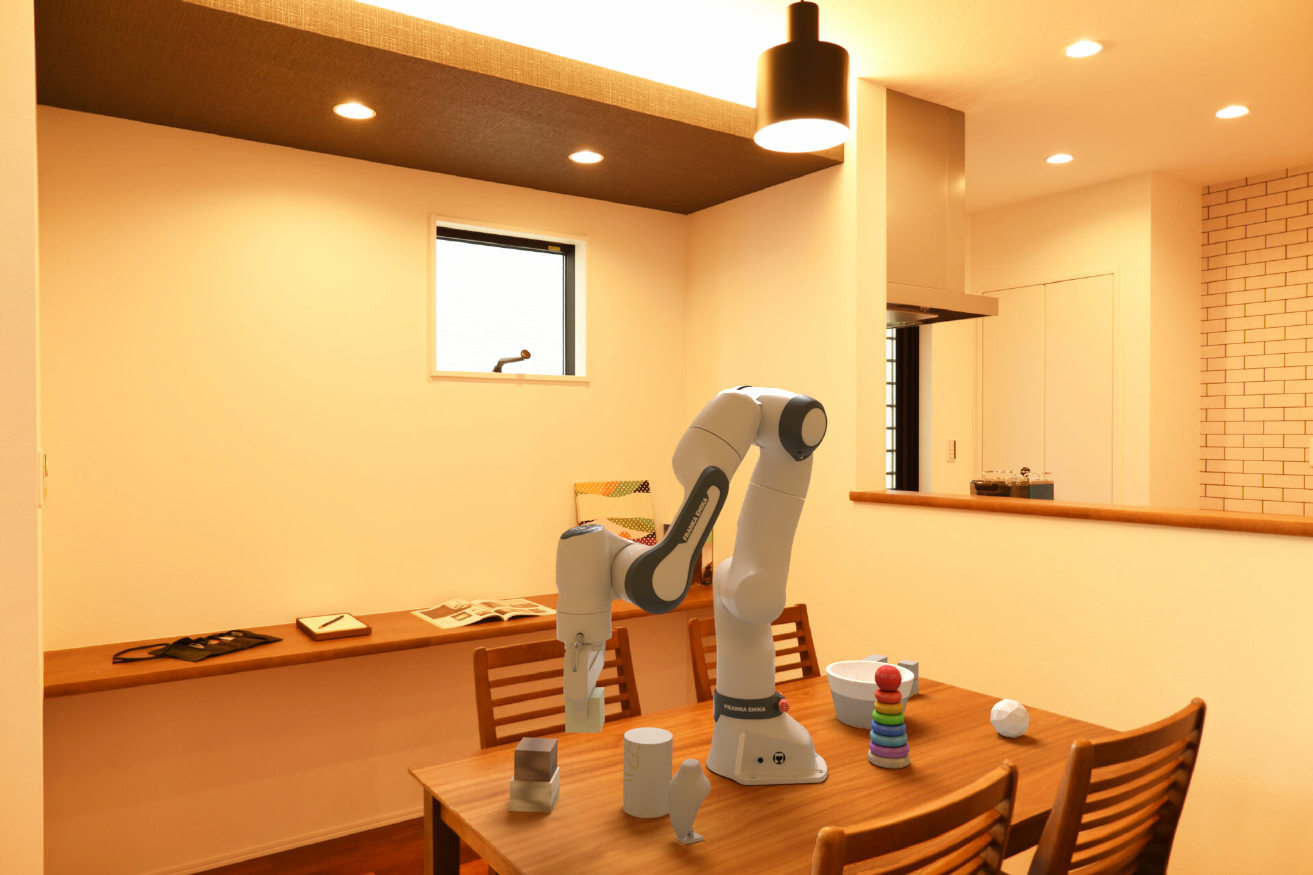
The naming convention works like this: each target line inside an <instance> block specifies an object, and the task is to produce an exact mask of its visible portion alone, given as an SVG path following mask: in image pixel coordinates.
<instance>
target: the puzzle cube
mask: <svg viewBox="0 0 1313 875" xmlns="http://www.w3.org/2000/svg"><path fill="white" fill-rule="evenodd" d="M888 658H889V656H886V655H881V654H875V653H872V654H871V655H868V656H866V657H863V658H861V659H860V660H859V661H874V662H882V663H888V660H889V659H888ZM919 665H920V663H919V661H916V660H915V661H914V660H910V659H902V660H900V661H898V662H897V666H900V667H903V668H906V669H908V670H910V671H911V672H912V673H913V674H914V680H913V684H912V687H911V691H910V694H909V697H911V696H912V695H915V694H916V693H918V694H919V674H920V673H919V670H920V668H919V667H920V666H919ZM916 695H917V694H916ZM916 695H915V696H916ZM909 697H908V698H909ZM911 698H912V697H911ZM909 699H910V698H909Z"/></svg>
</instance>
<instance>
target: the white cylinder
mask: <svg viewBox="0 0 1313 875" xmlns="http://www.w3.org/2000/svg"><path fill="white" fill-rule="evenodd" d="M673 738H674V736H673V733H672V732H670V731H669V730H667V729H663V728H658V727H649V726H648V727H645V726H643V727H637V728H632V729H629V730H627V731H625V733H624V734H623V771H622V772H623V773H622V774H623V778H622V779H623V782H622V784H623V786H622V787H623V788H622V810H623V811H624V812H625V813H626V814H627V815H630V816H632V817H635V818H640V819H641V818H642V819H653V818H654V819H655V818H661V817H665V816H666V815H668V814H670V813H669V805H668V789H669V784H670V782H671V780H672V778H673V749H674V748H673V747H674V746H673V744H674V742H673Z"/></svg>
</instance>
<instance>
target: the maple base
mask: <svg viewBox="0 0 1313 875" xmlns="http://www.w3.org/2000/svg"><path fill="white" fill-rule="evenodd" d="M560 769H561V768H560V766H557V769H556V771H555V773H554V775H553V777H552V779H551V781H550V782H540V781H522V780H514V774H513V775H512V777H511V778H510V780H509V799H508V800H509V801H508V802H509V804H508V805H509V811H510V812H511V811H512V812H527V813H528V812H530V813H547V814H551V813H553V810H554V808H555V806H556V804H557V801H558V798H559V797H560V784H561V783H560V778H561V777H560V776H561V774H560V773H561V772H560V771H561V770H560Z"/></svg>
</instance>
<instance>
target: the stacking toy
mask: <svg viewBox="0 0 1313 875" xmlns="http://www.w3.org/2000/svg"><path fill="white" fill-rule="evenodd" d="M875 682H876V684H877V686H878V687H879V688H880V689H877V690H876V692H875V697H876V699H877V700H876V701H875V703H874V707H875V710H874V711H873V714H872V716H873V719H874V720H873V721H872V724H871V726H872V729H870V732H869V738H870V742H869V743H868V744H869V745H868V746H869V750H868V752H867V759H868V760H869V761H870V762H871V763H872V764H873V765H875V766H878V767H881V768H886V769H901V768H905V767H907V766H909V764H910V763H911V756H910V754H909V753H910V749H911V748H910V745H909V744H908V734H907V733H906V731H907V726H906V723H905V713H904V714H903V713H902V711H903V709H904V706H903V704H902V702H900V701H901V699H902V694H901V692H900V691H899V690H897V689H898V688H899V687H900V685H901V682H902V676H901V673H900V671H899V670H898V669H897V668H896V667H894V666H891V665H883V666H881V667H879V668H878V669H877V671H876V673H875Z"/></svg>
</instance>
